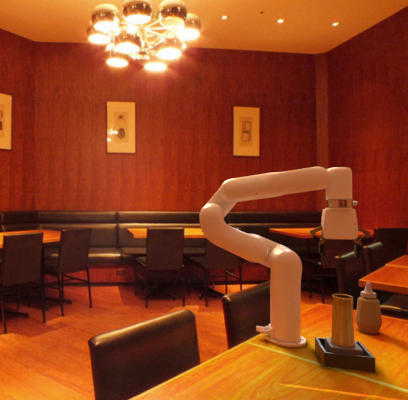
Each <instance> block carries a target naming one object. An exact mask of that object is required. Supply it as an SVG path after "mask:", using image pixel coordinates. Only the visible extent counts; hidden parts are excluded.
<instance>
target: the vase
mask: <svg viewBox="0 0 408 400" xmlns="http://www.w3.org/2000/svg"><path fill="white" fill-rule="evenodd" d="M331 310H332V311H331V337H330V338H331V342H332V343H333V344H335V345H338V346H342V347H353V346H355V342H354V341H355V327H354V296H352V295H349V294H345V293H334V294H332V308H331Z"/></svg>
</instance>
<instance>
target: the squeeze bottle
mask: <svg viewBox="0 0 408 400" xmlns="http://www.w3.org/2000/svg"><path fill="white" fill-rule="evenodd" d="M381 310H382V309H381V302H380V300H379V299H378V298H377V293H376V292H374V291H373V287H372V284H371V282H370V281H366V282H365V287H364V289H363V290H361V291H360V296H359V297H358V298H357V303H356V311H355V319H354V320H355V323H356V326H357V328H358V330H359V331H360V332H361V333H363V334H364V333H365V334H370V335H378V334H379V333H380V330H381V328H382V325H383V317H382V311H381Z"/></svg>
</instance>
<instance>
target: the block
mask: <svg viewBox="0 0 408 400" xmlns="http://www.w3.org/2000/svg"><path fill="white" fill-rule="evenodd" d="M324 338H325V350H326V352H330V353H340V354H350V355H359V356H363V350H362V349H361V348H360V346H359V345H358V344H357V343H356V342H355V341H356V340H354V342H355V346H353V347H342V346H338V345H335V344H333V343H332V342H331V337H324Z"/></svg>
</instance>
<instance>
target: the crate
mask: <svg viewBox="0 0 408 400" xmlns="http://www.w3.org/2000/svg"><path fill="white" fill-rule="evenodd" d="M325 338H326V337H314V351H315V353H316V355H317V356H318V358H319V360H320V362H321V363H322V365H323V367H324V368H332V369H340V370H348V371H349V370H350V371H357V372H358V371H359V372H365V373H374V374H376V357H375V356H374V355H373V353H372V352H371V351H369V349H368V347H366V346H365V345H364V344H363V343H362V341H358V340H354V341H355V342H356V343H357V344H358V345H359V346H360V348H361V349H362V350H363V356H359V355H350V354H340V353H330V352H326V350H325Z"/></svg>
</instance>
